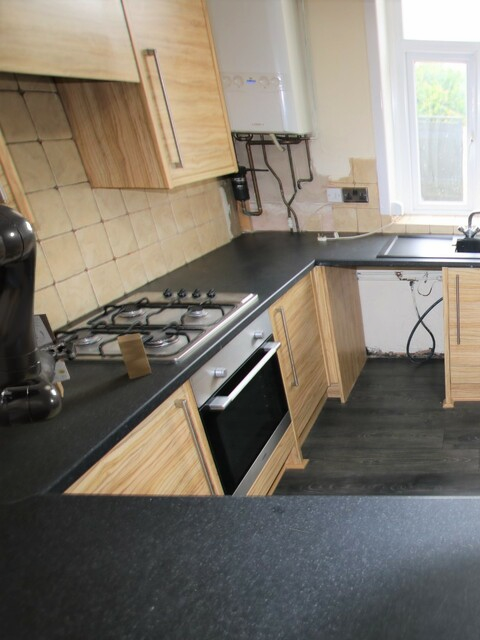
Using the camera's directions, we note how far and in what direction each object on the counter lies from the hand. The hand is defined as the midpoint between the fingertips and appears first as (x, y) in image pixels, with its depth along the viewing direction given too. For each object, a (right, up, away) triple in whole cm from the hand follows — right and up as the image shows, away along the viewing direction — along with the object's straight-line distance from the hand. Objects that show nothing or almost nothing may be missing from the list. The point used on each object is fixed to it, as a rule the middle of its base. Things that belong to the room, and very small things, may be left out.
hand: (35, 346), depth 108 cm
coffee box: (0, -9, +3) cm, 9 cm away
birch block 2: (+4, -9, +25) cm, 27 cm away
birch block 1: (-10, -13, +14) cm, 22 cm away
